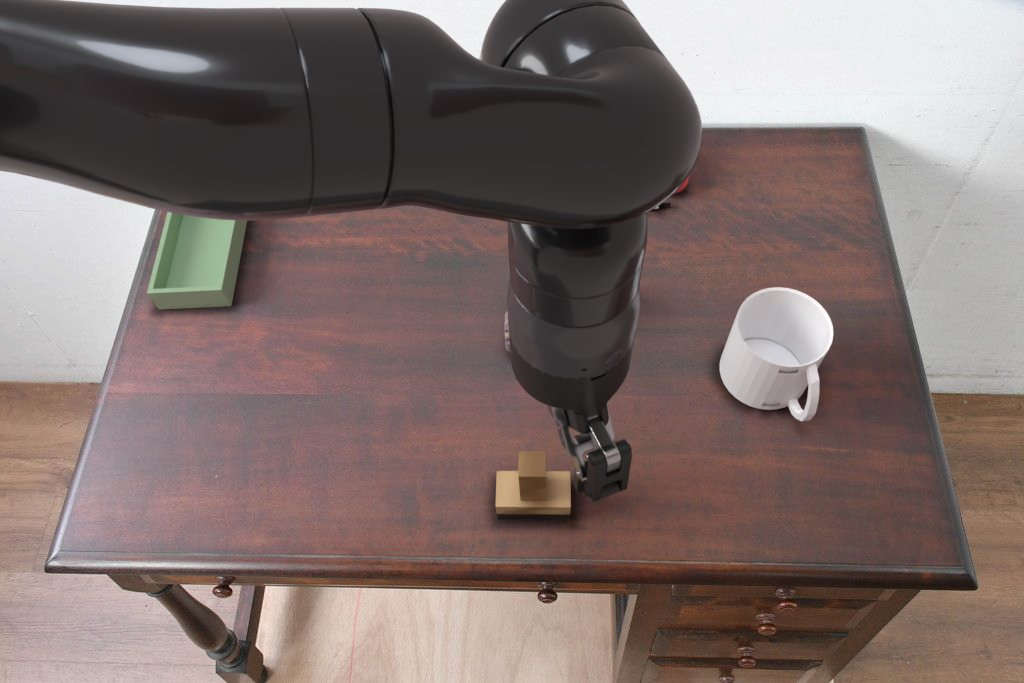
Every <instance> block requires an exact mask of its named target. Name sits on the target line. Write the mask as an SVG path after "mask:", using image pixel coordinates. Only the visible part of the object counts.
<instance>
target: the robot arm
mask: <svg viewBox="0 0 1024 683" xmlns="http://www.w3.org/2000/svg"><path fill="white" fill-rule="evenodd" d="M702 142H703V123H702V117H701V113H700V108H699V107H698V104H697V102H696V100H695V97H694V96H693V94H692V91H691V89H690V88H689V86H688V85H687V84H686V82H685V80H684V79H683V78H682V76H681V75H680V73H678V71H677V70H676V69H675V67H674V66H673V65H672V63H671V62H670V61H669V58H667V57H666V55H665V54H664V53H663V52H662V50H661V49H660V47H659V46H658V45H657V44H656V43H655V41H654V39H653V38H652V37H651V36H650V34H648V32H647V31H646V29H645V27H643V26H642V24H641V23H640V21H639V19H638V18H637V17H636V16H635V15H634V13H633V12H632V10H631V9H630V7H629V6H628V5H627V3H626V2H624V1H623V0H505V1H503V3H502V4H501V5H500V7H499V8H498V9H497V11H496V12H495V14H494V16H493V17H492V19H491V22H490V24H489V26H487V30H486V33H485V34H484V38H483V41H482V45H481V49H480V54H479V58H477V57H475V56H474V55H473V54H471V53H470V52H468V51H467V50H466V49H464V48H463V47H462V46H461V45H460V44H459V43H458V42H457V41H455V40H454V39H453V37H451V35H449V34H448V33H447V32H446V31H445V30H443V28H441V27H440V26H439V25H437V23H435V22H434V21H432V20H431V19H430V18H428V17H426V16H424V15H422V14H419V13H416V12H412V11H409V10H408V11H407V10H402V9H393V8H380V7H377V8H376V7H358V8H355V7H222V8H221V7H220V8H219V7H218V8H217V7H179V6H178V7H177V6H175V7H174V6H172V7H171V6H170V7H169V6H152V5H151V6H148V5H135V4H133V5H132V4H115V3H114V4H113V3H101V2H89V1H78V0H77V1H76V0H0V172H4V173H5V172H6V173H11V174H16V175H17V174H18V175H22V176H27V177H30V178H33V179H39V180H43V181H47V182H52V183H55V184H59V185H62V186H66V187H69V188H73V189H77V190H81V191H84V192H88V193H91V194H94V195H99V196H102V197H105V198H110V199H114V200H118V201H121V202H124V203H129V204H133V205H136V206H140V207H145V208H148V209H152V210H157V211H163V212H171V213H176V214H182V215H188V216H194V217H201V218H211V219H220V220H245V221H247V222H248V221H250V222H251V221H274V220H286V219H296V218H304V217H313V216H323V215H335V214H343V213H352V212H365V211H373V210H381V209H383V210H384V209H389V208H397V207H421V208H426V209H431V210H432V209H433V210H437V211H442V212H445V213H450V214H455V215H460V216H466V217H473V218H479V219H480V218H481V219H489V220H496V221H501V222H507V249H508V266H509V279H508V285H507V292H506V293H507V294H506V307H507V308H506V309H507V310H506V311H508V325H509V340H510V352H509V354H510V363H511V369H512V371H513V375H514V377H515V379H516V381H517V382H518V384H519V385H520V386H521V388H522V389H523V390H524V391H525V392H526V393H527V394H528V395H529V396H530V397H532V398H533V399H534V400H536V401H537V402H539V403H541V404H544V405H546V406H547V409H548V413H549V414H550V415H551V416H552V418H553V419H554V422H555V425H556V428H557V433H558V436H559V440H560V444H561V446H562V449H564V450H565V452H566V453H567V455H568V456H570V457H572V461H573V464H574V475H573V487H574V489H575V491H576V493H577V494H582V493H583V494H584V496H585V497H588V499H590V500H591V502H592V503H597V502H598V501H601V499H604V498H606V497H609V496H611V495H614V494H616V493H619V492H623V491H626V490H628V486H629V480H630V472H631V466H632V459H633V452H632V451H633V450H632V447H631V444H630V443H629V442H628V440H627V439H625V438H623V439H620V440H617V441H615V442H614V440H615V436H616V435H615V431H614V426H613V423H612V419H611V414H610V410H609V403H610V401H611V399H612V398H613V396H615V394H616V393H617V391H618V390H620V388H621V386H622V385H623V384H624V382H625V380H626V378H627V376H628V373H629V371H630V370H629V369H630V367H631V366H630V365H631V360H632V354H633V349H634V343H635V338H636V333H637V332H636V331H637V326H638V321H639V316H640V310H641V277H642V272H643V268H644V267H643V266H644V262H645V255H646V250H647V244H648V226H649V225H648V224H649V223H648V215H647V214H648V213H649V212H651V211H653V210H656V209H655V208H656V207H658V206H659V205H661V204H662V203H665V202H666V201H667V200H668V199H669V198H671V197H672V196H673V195H674V194H676V193H675V192H676V191H677V190H678V189H679V188H680V187H681V186H682V185H683V183H684V182H685V181H686V179H687V178H688V176H689V177H690V175H691V173H692V172H693V169H694V168H695V167H696V164H697V161H698V159H699V156H700V152H701V147H702ZM570 429H572V430H574V431H576V432H577V433H579V434H577V435H573V436H572V434H571V431H570ZM584 457H585V458H584Z"/></svg>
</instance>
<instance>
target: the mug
mask: <svg viewBox="0 0 1024 683" xmlns="http://www.w3.org/2000/svg"><path fill="white" fill-rule="evenodd" d="M833 339H834V326H833V322H832V319H831V317H830V315H829V313H828V312H827V310H826V309H825V308H824V307H823V306H822V305H821V303H819V302H818V301H817V300H816V299H815V298H814V297H812V296H810V295H808V294H806V293H804V292H802V291H799V290H798V289H793V288H790V287H781V286H775V287H774V286H773V287H767V288H763V289H759V290H758V291H754V292H753V293H751V294H750V295H749V296H747V297H746V298H745V299H744V300H743V302H742V303H741V305H740V306H739V308H738V310H737V313H736V315H735V319H734V321H733V324H732V326H731V329H730V331H729V334H728V337H727V339H726V341H725V345H724V348H723V349H722V350H723V351H722V353H721V356H720V360H719V374H720V378H721V380H722V384H723V385H724V387H725V388H726V389H727V391H728V392H729V393H730V394H731V395H732V396H733V397H734V398H735V399H736V400H737V401H739V402H741V403H742V404H744V405H747V406H748V407H751V408H754V409H758V410H765V411H773V410H779V409H783V408H787V407H788V409H789V412H790V414H791V415H792V417H794V418H795V419H796V420H797V421H799V422H807V421H808V422H809V421H812V419H813V417H815V416H816V413H817V410H818V405H819V400H820V376H819V375H820V374H819V372H818V369H819V367H820V365H821V364H822V362H823V360H824V358H825V357H826V355H827V354H828V352H829V350H830V348H831V346H832V344H833ZM807 388H808V389H807ZM806 389H807V398H806V403H805V406H804V409H803V408H802V407H801V405H800V403H799V399H800V398H801V397H802V395H803V394H804V393H805V390H806Z"/></svg>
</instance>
